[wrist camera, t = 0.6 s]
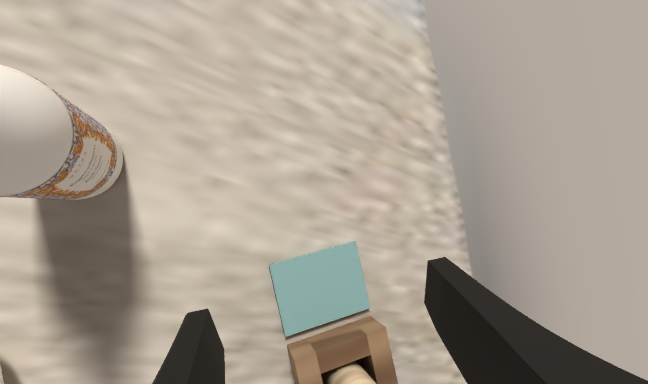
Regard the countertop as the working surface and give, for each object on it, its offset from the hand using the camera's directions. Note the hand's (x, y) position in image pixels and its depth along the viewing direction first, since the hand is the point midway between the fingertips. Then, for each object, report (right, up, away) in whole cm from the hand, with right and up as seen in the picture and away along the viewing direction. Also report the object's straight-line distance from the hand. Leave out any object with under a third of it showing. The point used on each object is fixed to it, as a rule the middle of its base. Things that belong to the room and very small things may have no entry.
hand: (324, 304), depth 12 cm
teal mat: (0, -6, +24) cm, 25 cm away
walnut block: (+2, -15, +24) cm, 28 cm away
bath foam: (-21, +6, +19) cm, 29 cm away
